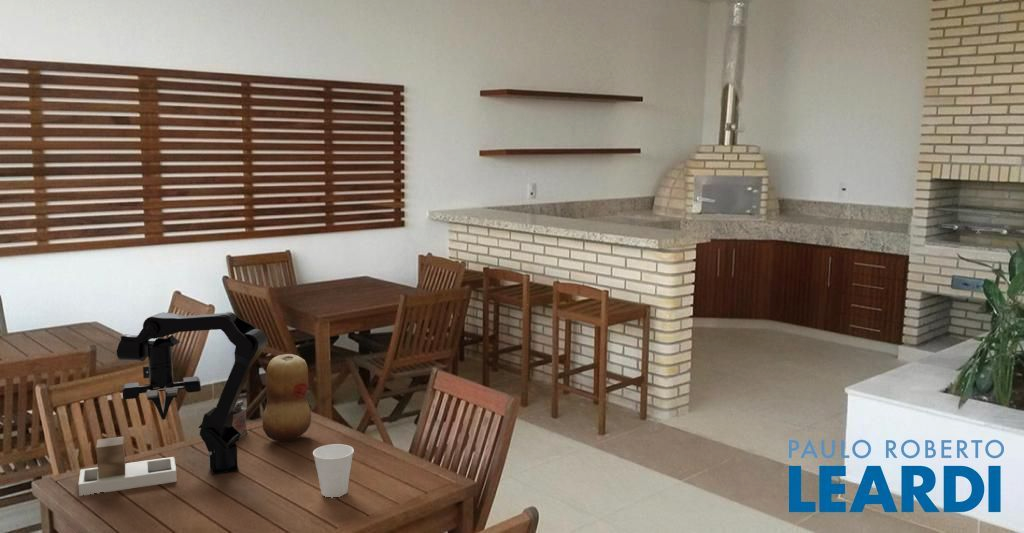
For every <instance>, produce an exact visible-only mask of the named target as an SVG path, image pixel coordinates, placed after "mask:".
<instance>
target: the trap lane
mask: <svg viewBox="0 0 1024 533" xmlns="http://www.w3.org/2000/svg"><path fill="white" fill-rule="evenodd" d="M177 480H178V479H177V467H176V459H175V456H171V457H163V458H155V459H148V460H141V461H134V462H133V461H132V462H127V463H126V462H125V475H121V476H114V477H107V478H100V479H99V478H98V466H97V467H90V468H83V469H80V471H79V479H78V483H77V484H78V495H79V496H78V497H83V495H84V496H90V494H91V495H95V494H94V493H97V494H101V493H100V492H104V493H110V492H118V491H123V490H130V489H134V488H135V489H136V488H142V487H150V486H157V485H162V484H163V485H164V484H169V483H177Z"/></svg>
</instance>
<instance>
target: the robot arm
mask: <svg viewBox="0 0 1024 533" xmlns="http://www.w3.org/2000/svg"><path fill="white" fill-rule="evenodd" d="M213 330H214V331H215V330H217V331H218V330H221V331H222V332H223V333H224V334H225V337H226V338H227V339H228V340H229V342H230V343H231V344H233V346H235V348H234V362H233V366H232V367H231V370H230V373H229V375H228V378H227V380H226V382H225V385H224V388H222V392H221V394H220V397H219V399H218V401H217V404H216V406H215V407H212V408H211V409H210V410H209V411H207V412H206V413H204V415H203V417H202V418H203V419H202V422H201V423H200V425H199V426H198V429H200V430H199V436H200V438H201V439H202V440H201V441H203V442H204V444H205V446H206V450H207V451H208V466H209V470H210V471H212V472H211V473H212V475H217V474H223V473H232V472H237V471H239V470H240V468H239V464H238V445H237V442H239V441H240V439H241V438H240V435H241V434H240V433H239V432H238V431H237V430H236V429H235V428H234V427H233V426H232V423H233V409H234V407H235V405H236V403H237V402H238V400H239V397H240V395H241V392H242V391H243V390H242V389H244V385H245V383H246V381H247V378H248V376H249V374H250V370H251V369H252V366H253V364H254V363H255V362H256V361H257V360H258V358H259V357H260V355H261V354H262V353H263V351H264V349H265V348H266V347H267V345H268V341H269V338H268V337H267V334H266V332H264V331H263V330H262V329H259V328H257V327H255V326H254V325H253V324H252V323H250V322H248V321H246V320H244V319H242V318H241V317H239V316H238V315H237V314H235V313H234V312H232V311H227V312H223V313H221V312H220V313H208V314H207V313H206V314H205V313H204V314H193V315H183V314H182V315H181V314H177V313H172V312H159V313H156V314H154V315H151V316H149V317H147V318H145V319H144V321H143V324H142V329H141V331H140V332H139V333H138V334H137V335H136V334H135V335H132V334H130V333H129V334H127V333H126V334H123V335H121V336H120V340H119V343H118V345H117V349H116V356H117V358H118V359H119V361H123V362H124V361H127V362H130V361H131V362H144V361H146V359H148V366H142V374H143V376H142V378H143V379H144V380H147V379H148V380H149V381H148V383H149V384H146V385H140V383H139V381H136V382H128V383H124V384H123V385H122V387H121V388H122V390H121V391H122V400H133V399H137V398H138V397H139V396H140V394H146V395H147V396H146V397H147V400H148V401H152V403H153V404H154V406H155V407H156V410H157V411H158V413H159V416H160V419H161V420H166V418H167V415H168V411H169V409H170V406H171V404H172V402H173V400H174V398H177V397H179V395H178V391H179V390H183V389H184V391H185V392H187V393H188V394H190V393H196V392H197V393H199V392H201V390H202V389H201V388H202V387H201V379H200V378H199V377H198V376H187V377H186V376H185V377H183V378H182V379H183V380H182V381H176V382H175V381H174V370H173V369H174V367H173V352H172V351H173V350H172V349H173V348H172V347H175V346H176V345H179V344H180V343H181V341H180V340H178V339H177V338H176V337H175V336H174V334H177V333H185V332H201V331H213ZM164 337H165V338H164ZM166 337H167V338H166ZM152 339H154V340H152ZM160 392H164V397H163V398H164V401H163V406H162V401H161V395H160ZM239 438H240V439H239Z"/></svg>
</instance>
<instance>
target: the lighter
mask: <svg viewBox="0 0 1024 533" xmlns="http://www.w3.org/2000/svg"><path fill="white" fill-rule="evenodd" d="M232 426H233V427H234V428H235V429H236V430H237V431H238V432H239V433H240V434H241V435H240V438H239V440H240V439H241V438H243V437H244V436H246V435H245V434H246V433H248V429H247V408H246V407H244V401H243V400H239V401H237V402H236V405H235V407H234V409H233V423H232Z"/></svg>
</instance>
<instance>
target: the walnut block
mask: <svg viewBox="0 0 1024 533" xmlns="http://www.w3.org/2000/svg"><path fill="white" fill-rule="evenodd" d="M95 449H96V458H97V459H96V460H97V467H98V478H99V479H100V478H107V477H114V476H121V475H125V463H126V457H125V455H126V454H125V453H126V452H125V439H124V436H117V437H109V438H108V437H107V438H99V439H97V440H96V448H95Z"/></svg>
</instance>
